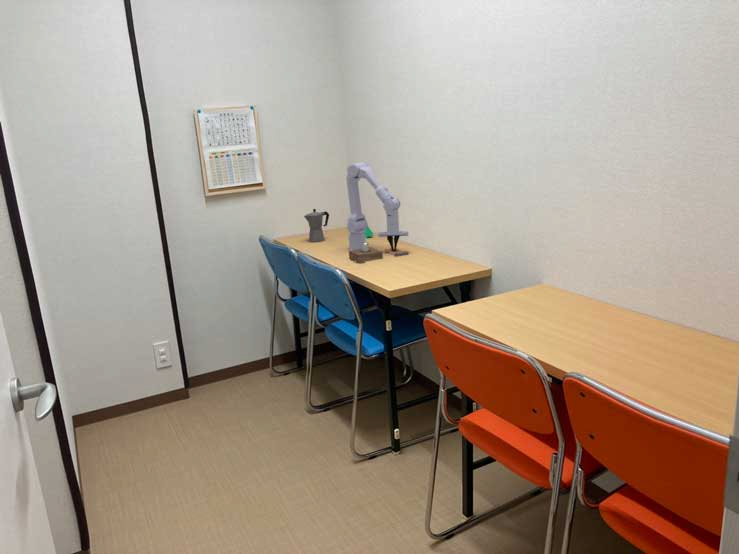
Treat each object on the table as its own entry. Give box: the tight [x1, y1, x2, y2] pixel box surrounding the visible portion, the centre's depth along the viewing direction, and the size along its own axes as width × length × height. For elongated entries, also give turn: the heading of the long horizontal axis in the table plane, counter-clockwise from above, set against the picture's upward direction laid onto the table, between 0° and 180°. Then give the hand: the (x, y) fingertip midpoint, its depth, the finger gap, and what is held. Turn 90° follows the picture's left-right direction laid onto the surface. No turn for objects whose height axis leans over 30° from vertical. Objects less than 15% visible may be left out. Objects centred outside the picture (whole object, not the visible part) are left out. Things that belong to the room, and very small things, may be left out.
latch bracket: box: [393, 251, 410, 258], centre depth 280 cm, size 2×7×2 cm, turn 116°
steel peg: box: [362, 241, 370, 253], centre depth 278 cm, size 3×3×8 cm
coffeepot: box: [303, 208, 330, 243], centre depth 326 cm, size 15×9×18 cm, turn 122°
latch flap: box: [384, 247, 403, 256], centre depth 286 cm, size 11×6×1 cm, turn 26°
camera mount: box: [348, 226, 374, 239], centre depth 328 cm, size 12×8×10 cm, turn 110°
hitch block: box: [348, 246, 384, 264], centre depth 278 cm, size 12×12×4 cm
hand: (394, 250), depth 286 cm, fingers closed, pressing on latch flap
